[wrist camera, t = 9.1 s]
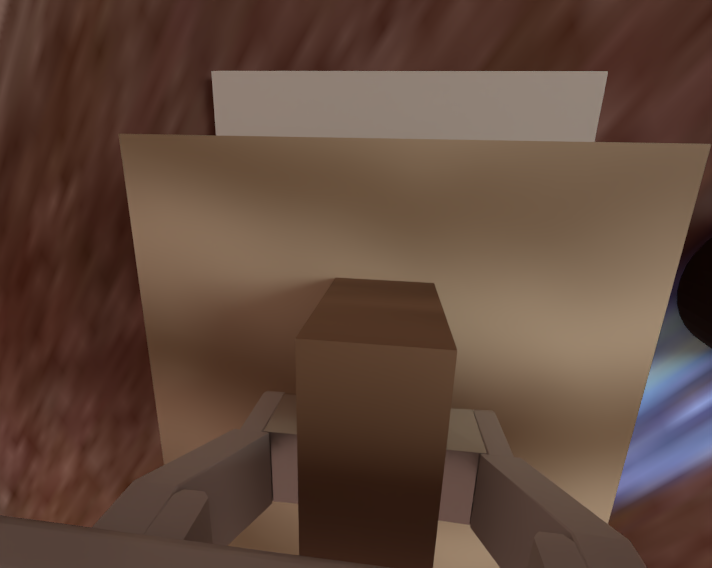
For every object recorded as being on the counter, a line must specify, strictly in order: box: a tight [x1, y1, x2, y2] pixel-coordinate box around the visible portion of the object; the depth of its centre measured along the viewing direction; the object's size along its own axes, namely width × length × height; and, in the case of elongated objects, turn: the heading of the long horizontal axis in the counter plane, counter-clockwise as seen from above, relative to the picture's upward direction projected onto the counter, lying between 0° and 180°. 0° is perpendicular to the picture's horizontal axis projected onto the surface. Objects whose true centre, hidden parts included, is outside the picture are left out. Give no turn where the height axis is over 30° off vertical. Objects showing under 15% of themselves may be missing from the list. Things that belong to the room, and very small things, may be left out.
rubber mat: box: [211, 71, 608, 142], centre depth 18 cm, size 20×16×1 cm
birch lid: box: [119, 134, 711, 568], centre depth 9 cm, size 14×14×5 cm
